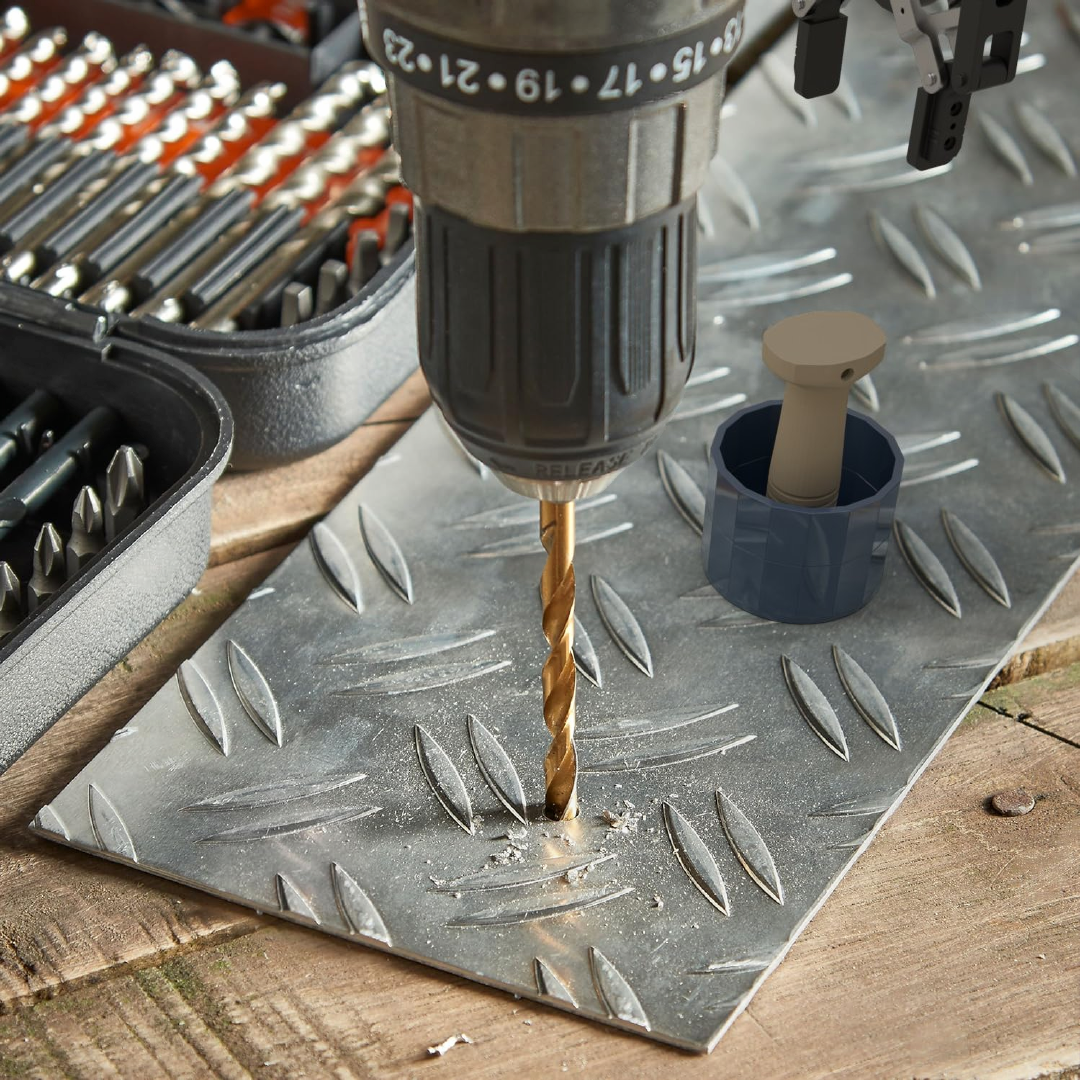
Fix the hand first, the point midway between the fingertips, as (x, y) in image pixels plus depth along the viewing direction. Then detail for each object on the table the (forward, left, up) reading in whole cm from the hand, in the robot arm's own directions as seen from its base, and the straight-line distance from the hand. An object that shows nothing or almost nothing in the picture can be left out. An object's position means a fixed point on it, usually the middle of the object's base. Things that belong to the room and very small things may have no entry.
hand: (869, 127), depth 71 cm
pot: (0, -1, -27) cm, 27 cm away
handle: (0, -1, -27) cm, 27 cm away
